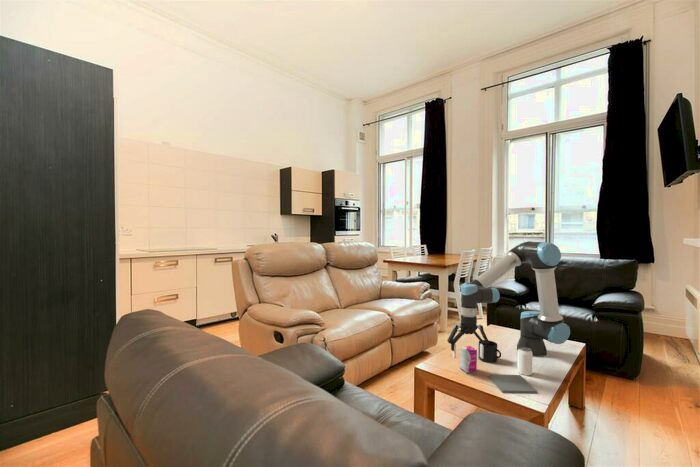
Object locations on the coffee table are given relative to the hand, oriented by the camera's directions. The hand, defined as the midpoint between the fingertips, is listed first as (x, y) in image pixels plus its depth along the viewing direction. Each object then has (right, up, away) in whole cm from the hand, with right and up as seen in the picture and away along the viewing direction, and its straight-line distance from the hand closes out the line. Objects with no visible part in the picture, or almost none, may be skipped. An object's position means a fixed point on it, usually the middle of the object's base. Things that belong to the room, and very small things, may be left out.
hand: (467, 357), depth 163 cm
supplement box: (0, -7, 0) cm, 7 cm away
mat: (+15, -7, -14) cm, 22 cm away
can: (+27, -7, -2) cm, 28 cm away
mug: (+17, -7, +13) cm, 22 cm away
